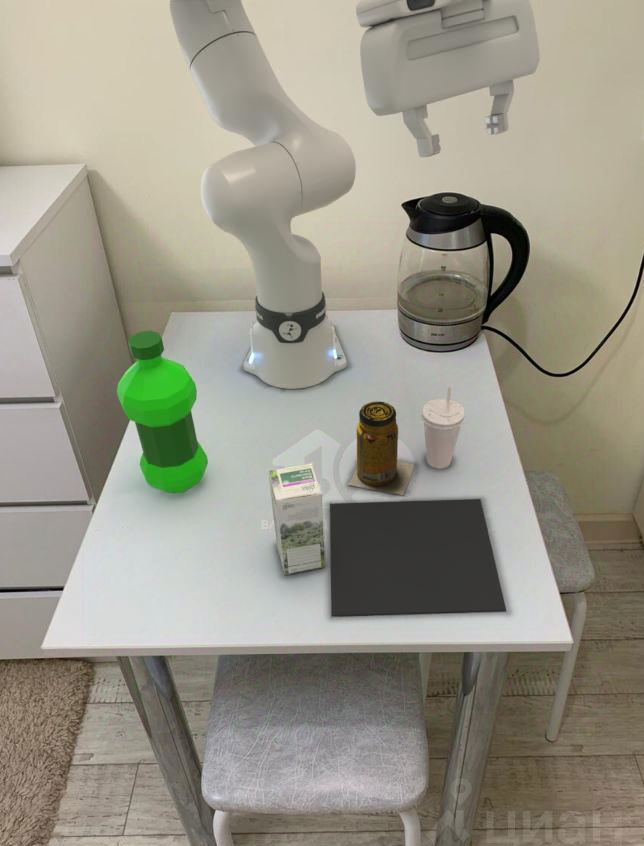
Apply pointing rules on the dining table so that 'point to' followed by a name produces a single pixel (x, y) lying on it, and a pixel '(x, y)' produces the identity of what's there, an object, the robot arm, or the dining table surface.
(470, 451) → the dining table surface
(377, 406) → the condiment
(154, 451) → the plastic bottle
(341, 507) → the mat
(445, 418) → the smoothie
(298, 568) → the syrup box
